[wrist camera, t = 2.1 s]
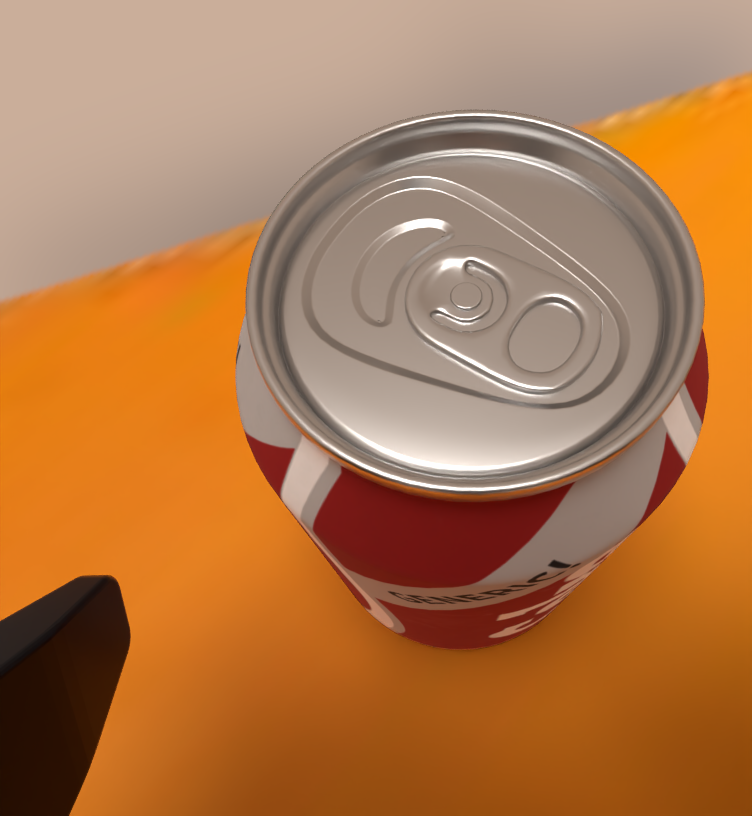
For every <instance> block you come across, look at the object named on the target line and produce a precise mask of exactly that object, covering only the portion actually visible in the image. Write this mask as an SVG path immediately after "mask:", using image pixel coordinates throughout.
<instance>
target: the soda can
mask: <svg viewBox="0 0 752 816" xmlns="http://www.w3.org/2000/svg"><path fill="white" fill-rule="evenodd" d="M704 306H705V298H704V282H703V276H702V270H701V265H700V261H699V258H698V254H697V251H696V248H695V244H694V242H693V240H692V237H691V235H690V233H689V230H688V228H687V226H686V224H685V223H684V221H683V219H682V217H681V216H680V214H679V212H678V210H677V209H676V208H675V206H674V205H673V203H672V202H671V201H670V199H669V198H668V196H667V195H666V194H665V193H664V192H663V190H662V189H661V188H660V187H659V186H658V185H657V184H656V182H655V181H654V180H653V179H652V178H651V177H650V176H649V175H647V174H646V173H645V172H644V171H643V170H642V169H641V168H640V167H639V166H638V165H636V164H635V163H634V162H632V161H631V160H630V159H629V158H627V157H626V156H625V155H623V154H622V153H620V152H619V151H617V150H616V149H614V148H612V147H611V146H609V145H608V144H606V143H604V142H602V141H600V140H598V139H597V138H595V137H593V136H591V135H589V134H587V133H584V132H582V131H580V130H577V129H575V128H573V127H570V126H567V125H564V124H561V123H558V122H555V121H551V120H547V119H544V118H540V117H536V116H532V115H526V114H521V113H515V112H506V111H496V110H456V111H447V112H438V113H432V114H427V115H421V116H416V117H412V118H408V119H405V120H401V121H397V122H394V123H391V124H389V125H386V126H383V127H380V128H378V129H375V130H373V131H371V132H368V133H366V134H364V135H361V136H360V137H358V138H356V139H354V140H352V141H350V142H348V143H346V144H345V145H343V146H341V147H340V148H338V149H337V150H335V151H334V152H332V153H330V154H329V155H328V156H326V157H325V158H324V159H322V160H321V161H320V162H318V163H317V164H316V165H314V166H313V167H312V168H311V169H310V170H309V171H308V172H307V173H306V174H304V175H303V176H302V177H301V178H300V179H299V180H298V181H297V182H296V183H295V184H294V186H293V187H292V188H291V189H290V190H289V191H288V192H287V193H286V195H285V196H284V197H283V199H282V200H281V201H280V203H279V204H278V205H277V207H276V208H275V210H274V211H273V213H272V215H271V216H270V218H269V219H268V221H267V223H266V225H265V227H264V229H263V231H262V233H261V235H260V237H259V240H258V242H257V245H256V248H255V250H254V253H253V256H252V260H251V264H250V268H249V273H248V280H247V287H246V314H245V317H244V320H243V324H242V328H241V332H240V336H239V342H238V349H237V356H236V390H237V401H238V406H239V412H240V417H241V421H242V425H243V428H244V431H245V434H246V438H247V441H248V443H249V446H250V448H251V450H252V452H253V455H254V457H255V459H256V462H257V463H258V465H259V467H260V469H261V470H262V472H263V474H264V476H265V477H266V479H267V481H268V482H269V484H270V485H271V487H272V488H273V489H274V491H275V492H276V493H277V495H278V496H279V498H280V499H281V500H282V502H283V503H284V504H285V506H286V507H287V508H288V510H289V511H290V512H291V513H292V515H293V516H294V517H295V519H296V520H297V521H298V523H299V524H300V525H301V527H302V528H303V529H304V530H305V532H306V533H307V534H308V536H309V537H310V538H311V540H312V541H313V542H314V544H315V545H316V546H317V547H318V549H319V550H320V551H321V553H322V554H323V555H324V557H325V558H326V559H327V561H328V562H329V563H330V565H331V566H332V567H333V568H334V570H335V571H336V572H337V574H338V575H339V576H340V578H341V579H342V580H343V582H344V583H345V584H346V585H347V587H348V588H349V589H350V591H351V592H352V593H353V595H354V596H355V597H356V599H357V600H358V601H359V602H360V603H361V604H362V606H363V607H364V608H365V609H366V610H367V611H368V612H369V613H370V614H371V615H372V616H373V617H374V618H376V619H377V620H378V621H379V622H381V623H382V624H383V625H385V626H386V627H387V628H389V629H391V630H392V631H394V632H396V633H397V634H399V635H401V636H403V637H405V638H407V639H410V640H412V641H415V642H418V643H421V644H424V645H428V646H432V647H436V648H443V649H453V650H468V649H479V648H484V647H490V646H493V645H497V644H500V643H503V642H506V641H508V640H511V639H513V638H515V637H517V636H519V635H521V634H523V633H525V632H527V631H528V630H530V629H531V628H533V627H534V626H535V625H537V624H538V623H539V622H541V621H542V620H543V619H544V618H545V617H546V616H548V615H549V614H550V613H551V612H552V611H553V610H554V609H555V608H556V607H557V606H558V605H559V604H560V603H561V602H562V601H563V600H564V599H565V598H566V597H567V596H568V595H569V594H570V593H571V592H572V591H573V590H574V589H575V588H576V587H577V586H578V585H579V584H580V583H581V582H582V581H583V580H584V579H585V578H587V577H588V576H589V575H590V574H591V573H592V572H593V571H594V570H595V569H596V568H597V567H598V566H599V565H600V564H601V563H602V562H603V561H604V560H605V559H606V558H607V557H608V556H609V555H610V554H611V553H612V552H613V551H614V550H615V549H616V548H617V547H618V546H619V545H620V544H621V543H622V542H623V541H624V540H626V539H627V538H628V537H629V536H630V535H631V534H632V533H633V532H634V531H635V530H636V529H637V528H638V527H639V526H640V525H641V524H642V523H643V522H644V521H645V520H646V519H647V518H648V517H649V516H650V515H651V514H652V512H653V511H654V510H655V509H656V508H657V507H658V506H659V505H660V504H661V503H662V501H663V500H664V499H665V497H666V496H667V495H668V493H669V492H670V491H671V489H672V488H673V487H674V485H675V484H676V482H677V480H678V479H679V477H680V475H681V474H682V472H683V470H684V469H685V467H686V465H687V463H688V461H689V459H690V456H691V454H692V452H693V450H694V447H695V445H696V443H697V440H698V436H699V433H700V430H701V427H702V423H703V419H704V414H705V408H706V403H707V395H708V379H709V374H708V356H707V349H706V344H705V338H704V332H703V329H702V327H703V320H704Z"/></svg>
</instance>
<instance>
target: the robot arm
mask: <svg viewBox="0 0 752 816" xmlns="http://www.w3.org/2000/svg"><path fill="white" fill-rule="evenodd" d="M130 637H131V636H130V627H129V623H128V619H127V614H126V610H125V606H124V602H123V598H122V594H121V590H120V586H119V584H118V582H117V580H116V579H115V578H114V577H112V576H111V575H90V576H80V577H77V578H76V579H74V580H72V581H70V582H68V583H67V584H65V585H63V586H61V587H60V588H58V589H56V590H54V591H53V592H51V593H49V594H47V595H45V596H44V597H42V598H40V599H38V600H37V601H35V602H33V603H31V604H30V605H28V606H26V607H24V608H23V609H21V610H19V611H17V612H15V613H14V614H12V615H10V616H8V617H7V618H5V619H3V620H1V621H0V816H69V814H70V812H71V810H72V808H73V805H74V803H75V801H76V799H77V796H78V794H79V792H80V790H81V787H82V785H83V782H84V780H85V778H86V775H87V773H88V770H89V768H90V765H91V763H92V760H93V757H94V754H95V752H96V749H97V746H98V743H99V740H100V737H101V734H102V731H103V727H104V724H105V721H106V718H107V715H108V712H109V709H110V706H111V703H112V700H113V697H114V694H115V691H116V688H117V684H118V681H119V678H120V675H121V672H122V669H123V666H124V663H125V660H126V657H127V654H128V650H129V646H130Z"/></svg>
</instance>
